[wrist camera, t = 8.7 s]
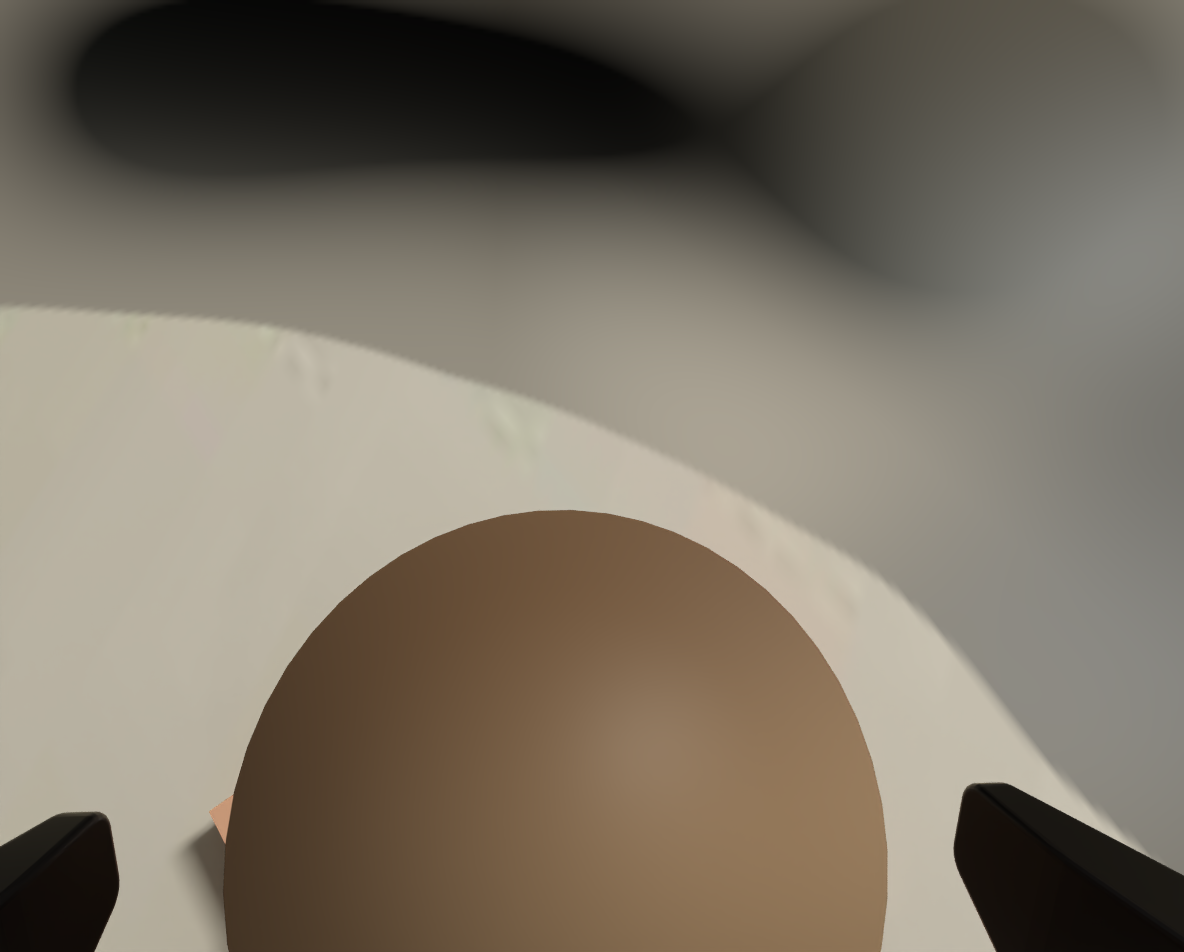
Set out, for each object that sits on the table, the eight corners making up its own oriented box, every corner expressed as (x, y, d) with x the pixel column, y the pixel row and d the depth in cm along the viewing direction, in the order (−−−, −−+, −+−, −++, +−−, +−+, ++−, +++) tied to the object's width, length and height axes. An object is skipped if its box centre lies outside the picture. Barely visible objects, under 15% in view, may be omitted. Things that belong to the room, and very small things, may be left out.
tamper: (768, 975, 15) (1338, 1163, 4) (424, 1158, 13) (-2, 2191, 3) (629, 652, 18) (765, 307, 7) (336, 765, 16) (-20, 522, 6)
